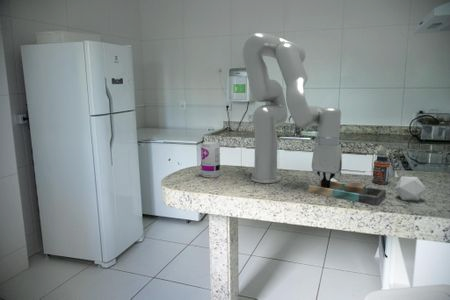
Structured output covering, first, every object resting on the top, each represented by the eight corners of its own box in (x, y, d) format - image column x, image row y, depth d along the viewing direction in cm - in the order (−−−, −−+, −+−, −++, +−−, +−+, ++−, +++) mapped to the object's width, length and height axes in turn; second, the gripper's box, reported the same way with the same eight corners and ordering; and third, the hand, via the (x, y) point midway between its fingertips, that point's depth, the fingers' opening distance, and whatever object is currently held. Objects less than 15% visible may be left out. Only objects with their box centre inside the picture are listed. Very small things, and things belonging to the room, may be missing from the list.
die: (419, 207, 108) (434, 182, 109) (395, 192, 110) (410, 168, 111) (409, 207, 116) (423, 184, 117) (387, 193, 118) (401, 171, 119)
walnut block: (343, 196, 118) (344, 185, 117) (348, 192, 123) (348, 181, 122) (361, 199, 115) (362, 188, 114) (365, 194, 120) (365, 184, 119)
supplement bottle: (370, 183, 134) (372, 156, 132) (373, 180, 139) (375, 153, 137) (386, 185, 130) (388, 157, 128) (389, 182, 135) (391, 155, 133)
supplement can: (206, 179, 141) (206, 144, 139) (198, 175, 148) (198, 142, 146) (223, 176, 145) (222, 143, 143) (214, 172, 152) (214, 140, 150)
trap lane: (308, 192, 122) (308, 185, 122) (320, 185, 131) (320, 179, 131) (377, 205, 108) (377, 198, 107) (385, 196, 117) (386, 190, 116)
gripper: (305, 140, 122) (302, 187, 126) (345, 144, 113) (341, 195, 117) (313, 138, 128) (310, 183, 131) (352, 142, 119) (348, 190, 122)
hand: (325, 189), depth 124 cm, fingers closed
